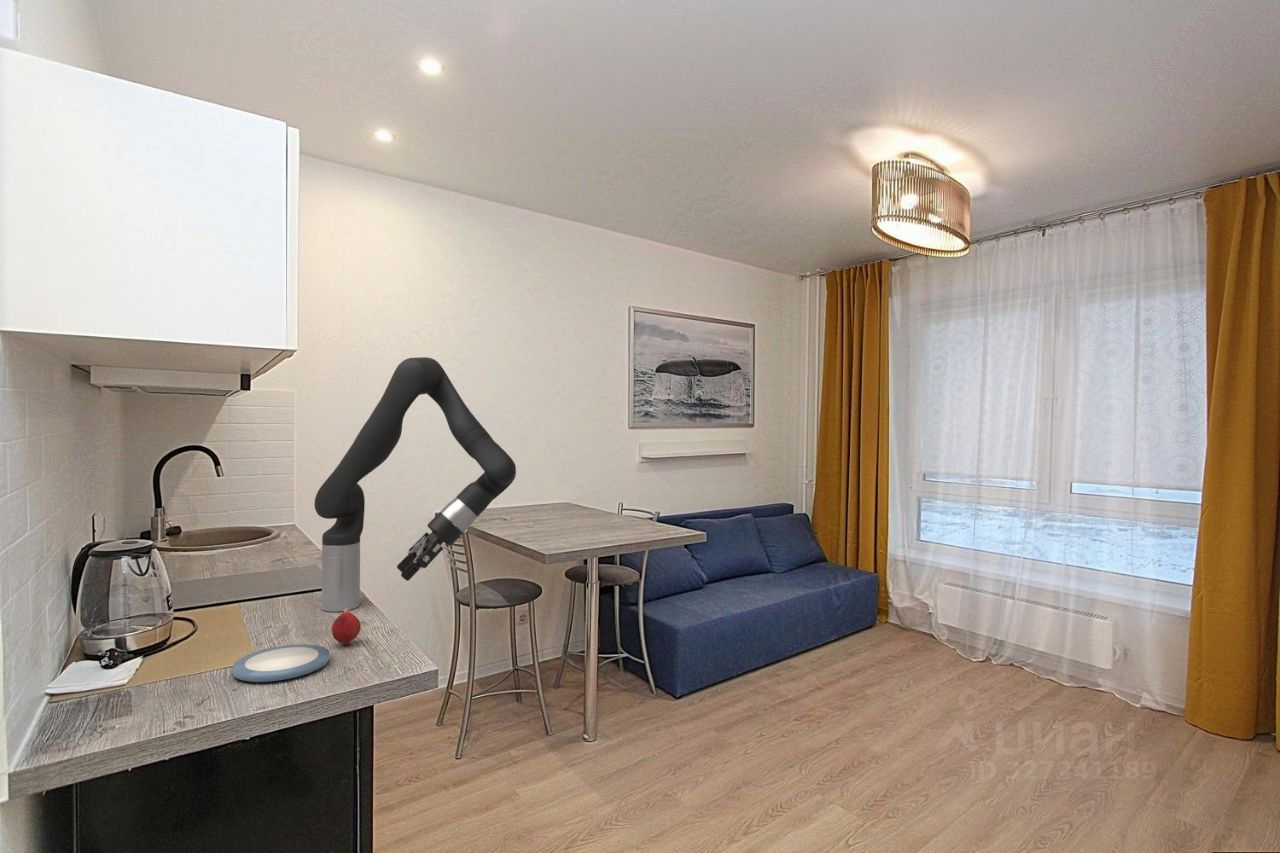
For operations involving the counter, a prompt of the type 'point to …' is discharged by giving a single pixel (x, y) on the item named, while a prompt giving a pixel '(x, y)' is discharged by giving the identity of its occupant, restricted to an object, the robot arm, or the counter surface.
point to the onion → (346, 627)
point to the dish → (280, 662)
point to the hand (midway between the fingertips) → (401, 574)
